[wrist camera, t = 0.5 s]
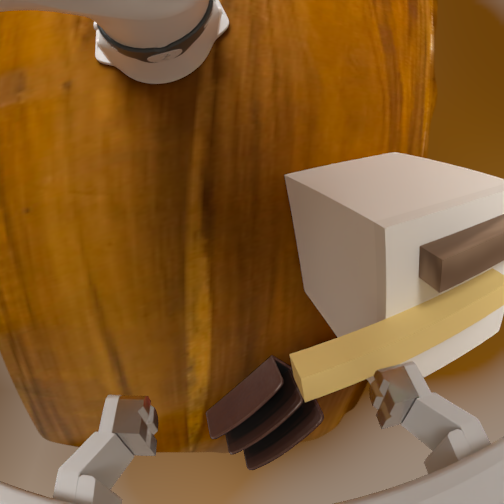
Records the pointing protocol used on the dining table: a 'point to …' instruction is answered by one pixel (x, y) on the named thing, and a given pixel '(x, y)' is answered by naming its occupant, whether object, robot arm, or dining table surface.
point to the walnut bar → (462, 254)
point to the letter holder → (264, 414)
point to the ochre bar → (395, 337)
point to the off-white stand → (386, 239)
